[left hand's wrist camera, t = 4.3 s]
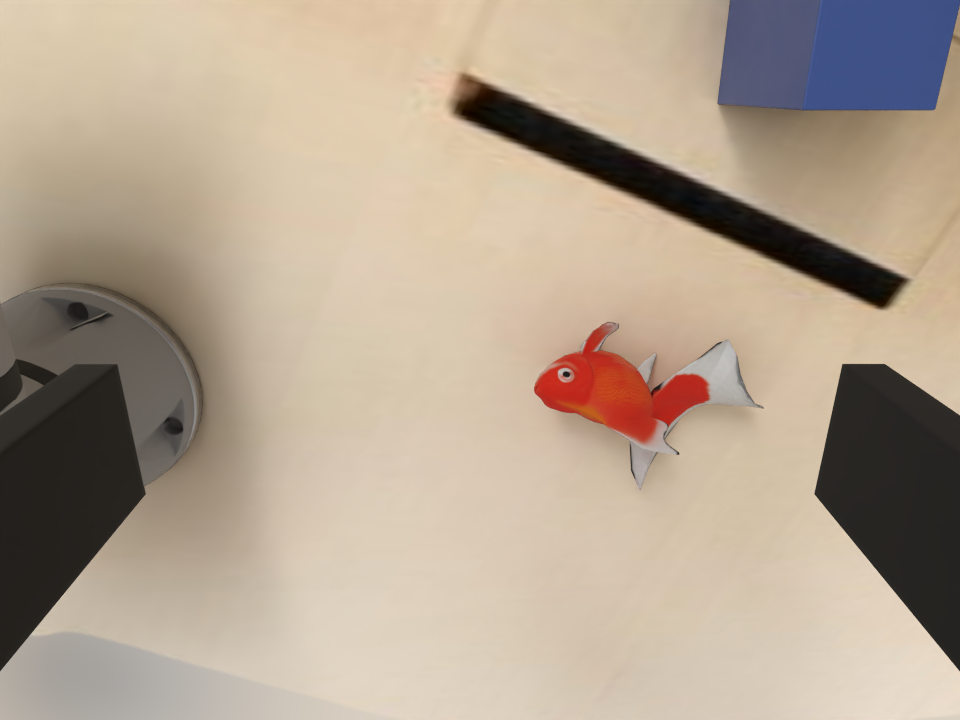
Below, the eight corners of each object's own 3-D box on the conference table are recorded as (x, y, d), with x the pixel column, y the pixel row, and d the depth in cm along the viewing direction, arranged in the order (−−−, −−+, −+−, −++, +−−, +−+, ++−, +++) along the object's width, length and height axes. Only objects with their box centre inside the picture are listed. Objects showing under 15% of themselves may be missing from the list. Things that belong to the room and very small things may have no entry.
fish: (602, 240, 39) (663, 377, 33) (757, 312, 48) (828, 431, 42) (494, 350, 45) (529, 482, 39) (649, 396, 54) (697, 511, 48)
